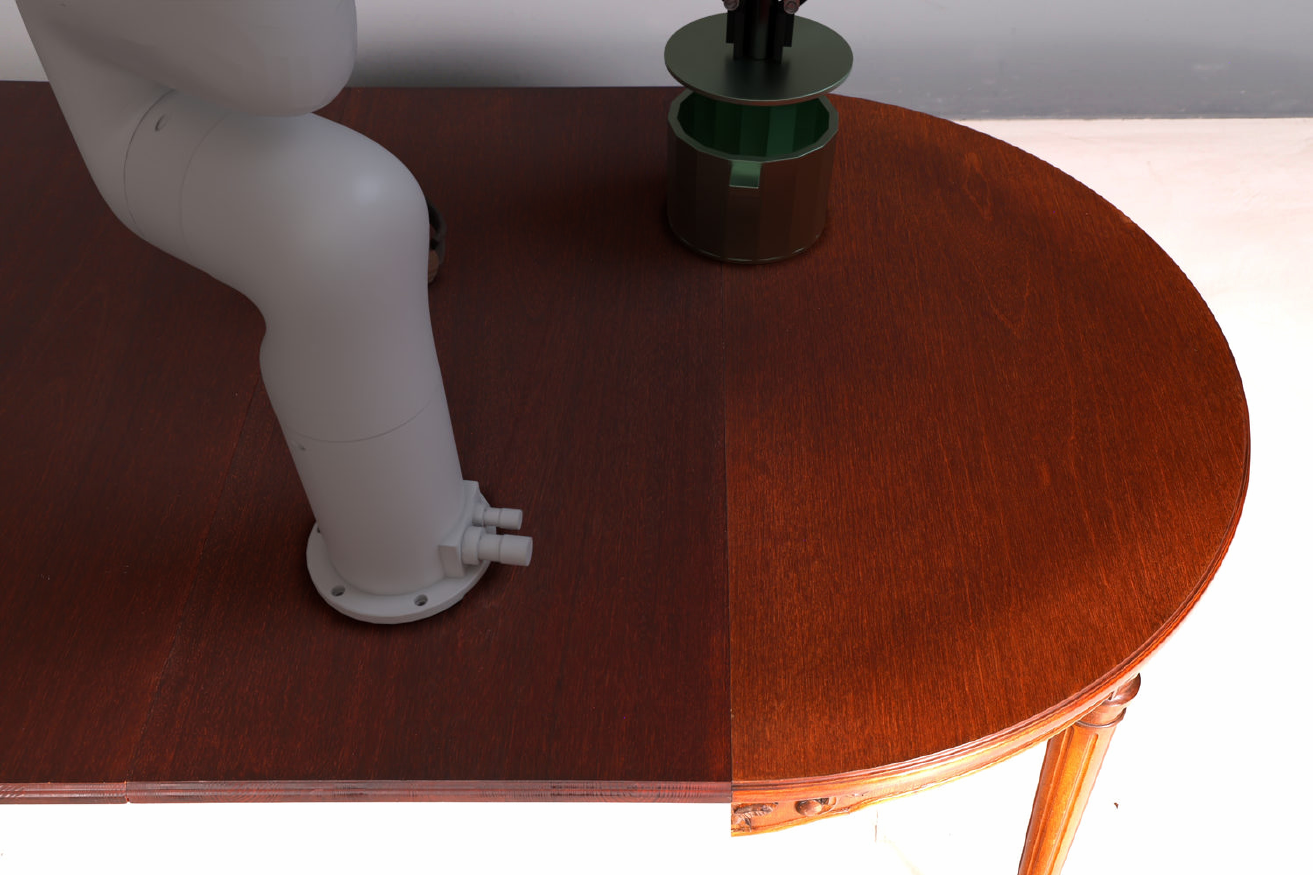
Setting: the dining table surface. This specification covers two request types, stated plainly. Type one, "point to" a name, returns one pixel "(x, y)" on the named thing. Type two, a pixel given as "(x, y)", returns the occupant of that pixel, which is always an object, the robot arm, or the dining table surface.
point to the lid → (758, 59)
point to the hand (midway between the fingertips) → (758, 50)
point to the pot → (749, 176)
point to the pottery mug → (435, 240)
